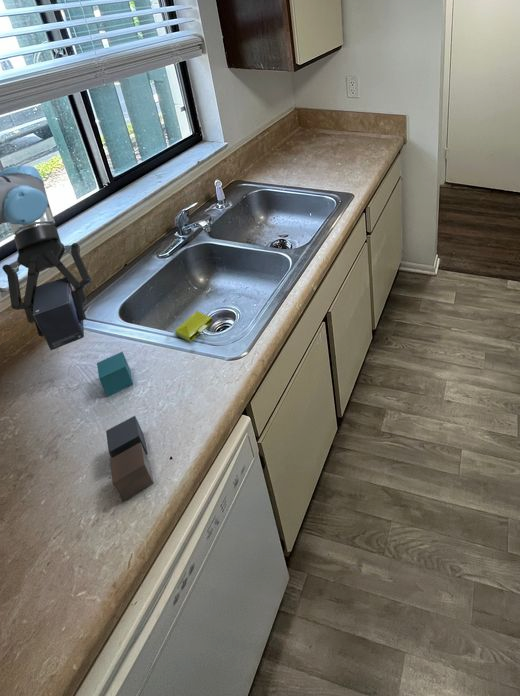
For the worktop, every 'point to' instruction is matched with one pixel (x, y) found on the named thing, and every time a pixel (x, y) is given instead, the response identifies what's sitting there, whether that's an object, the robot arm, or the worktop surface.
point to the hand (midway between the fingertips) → (63, 326)
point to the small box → (57, 313)
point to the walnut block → (131, 472)
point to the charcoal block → (125, 437)
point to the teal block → (114, 374)
